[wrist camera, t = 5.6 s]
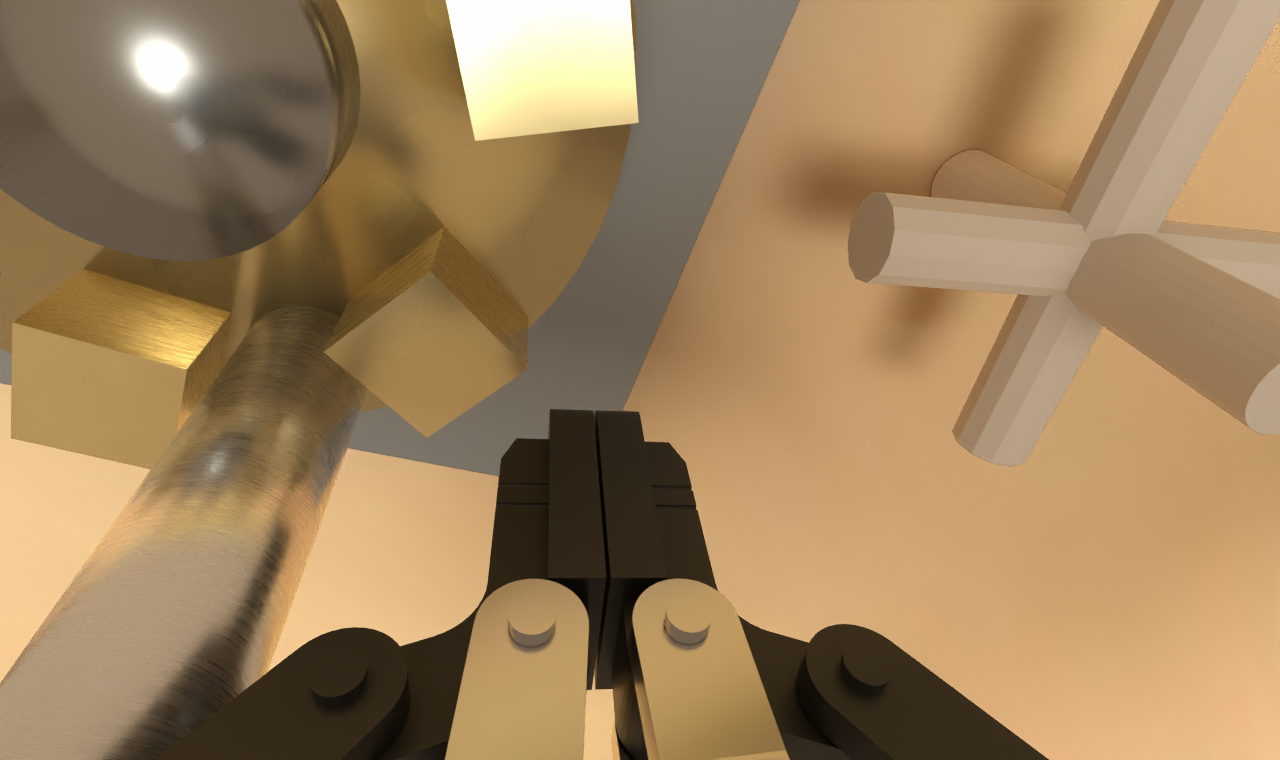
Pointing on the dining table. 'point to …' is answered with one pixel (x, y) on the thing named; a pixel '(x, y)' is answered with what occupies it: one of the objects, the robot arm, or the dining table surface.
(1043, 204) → the pipe connector
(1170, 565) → the dining table surface
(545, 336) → the base plate
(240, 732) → the robot arm
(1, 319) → the brass lugged hub
